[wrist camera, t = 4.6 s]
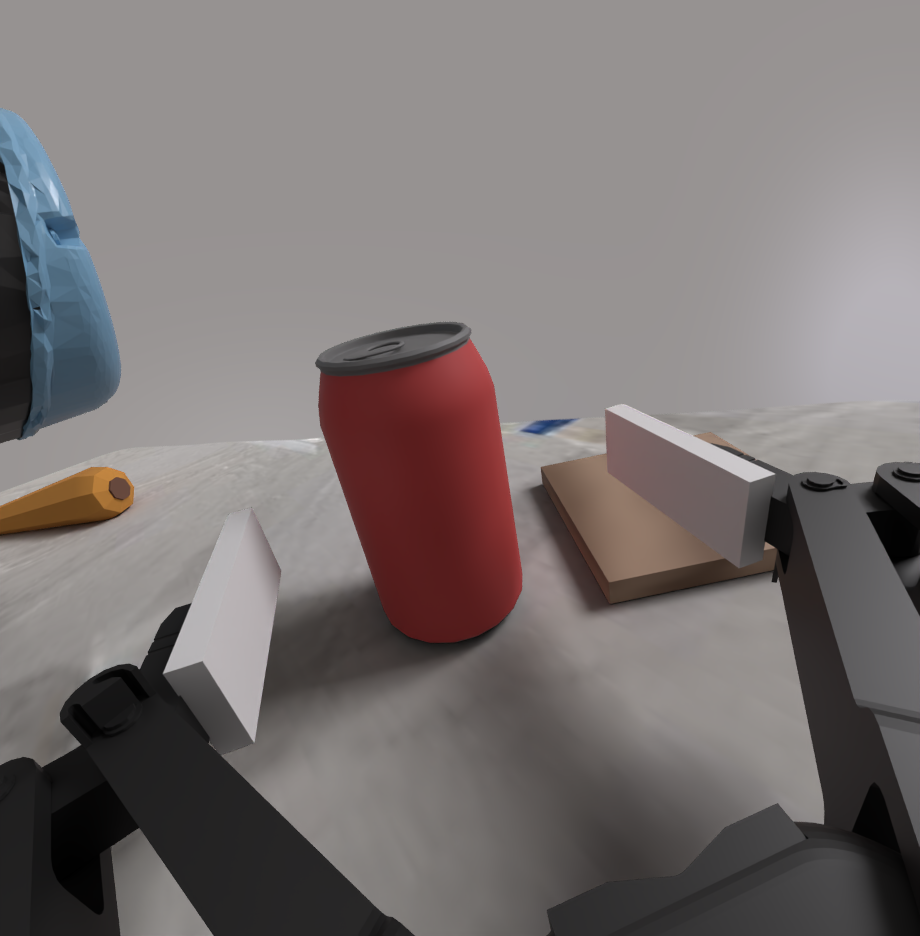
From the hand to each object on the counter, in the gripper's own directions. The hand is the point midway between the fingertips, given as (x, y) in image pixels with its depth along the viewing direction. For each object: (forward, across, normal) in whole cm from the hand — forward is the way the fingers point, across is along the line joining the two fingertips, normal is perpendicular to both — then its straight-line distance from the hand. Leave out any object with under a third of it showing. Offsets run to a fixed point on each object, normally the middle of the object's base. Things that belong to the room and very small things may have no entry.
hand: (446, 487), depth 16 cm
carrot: (+27, -32, -7) cm, 43 cm away
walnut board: (+3, +12, -7) cm, 14 cm away
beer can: (+2, 0, -7) cm, 7 cm away
